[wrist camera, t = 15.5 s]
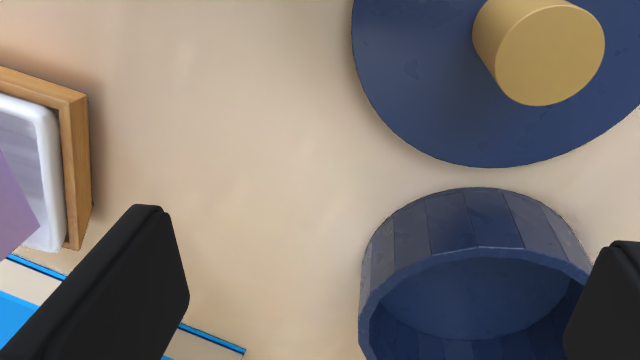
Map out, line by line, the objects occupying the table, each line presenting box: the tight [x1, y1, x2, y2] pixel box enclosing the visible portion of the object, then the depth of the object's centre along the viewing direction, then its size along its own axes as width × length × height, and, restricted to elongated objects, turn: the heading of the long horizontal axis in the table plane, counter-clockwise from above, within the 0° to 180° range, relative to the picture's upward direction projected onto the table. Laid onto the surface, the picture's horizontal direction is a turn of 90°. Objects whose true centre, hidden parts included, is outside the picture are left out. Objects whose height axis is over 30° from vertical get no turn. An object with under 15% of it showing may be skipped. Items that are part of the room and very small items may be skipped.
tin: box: [358, 188, 593, 360], centre depth 29 cm, size 16×16×6 cm
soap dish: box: [0, 66, 94, 253], centre depth 28 cm, size 12×10×5 cm
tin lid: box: [351, 0, 640, 168], centre depth 19 cm, size 16×16×7 cm
